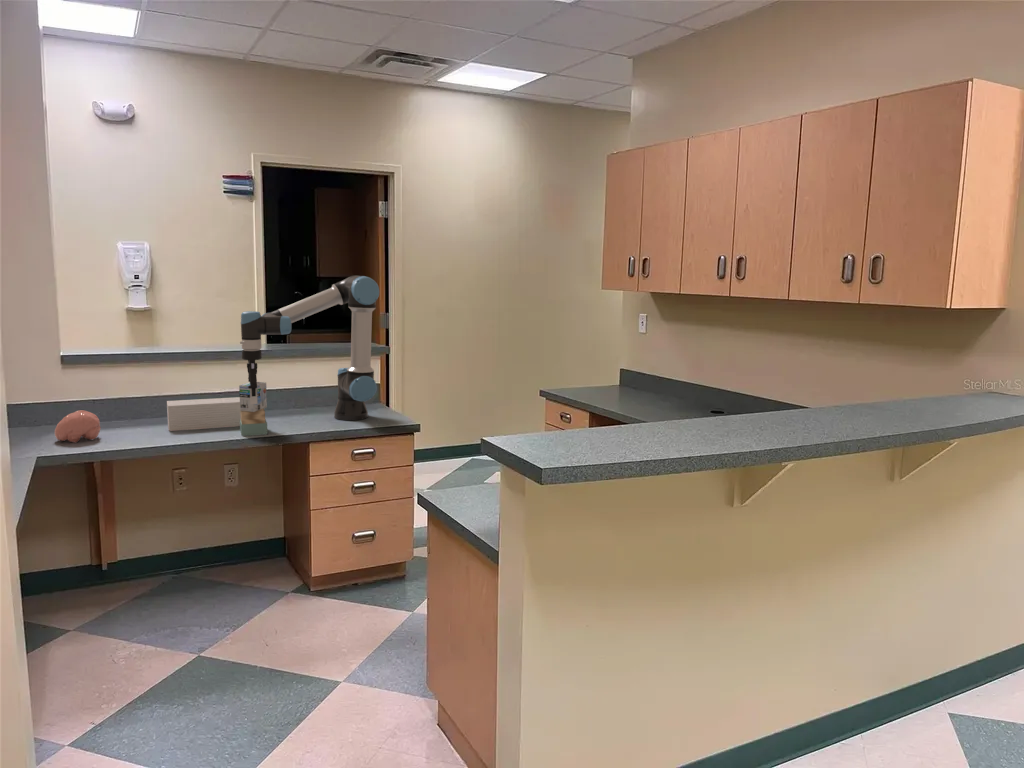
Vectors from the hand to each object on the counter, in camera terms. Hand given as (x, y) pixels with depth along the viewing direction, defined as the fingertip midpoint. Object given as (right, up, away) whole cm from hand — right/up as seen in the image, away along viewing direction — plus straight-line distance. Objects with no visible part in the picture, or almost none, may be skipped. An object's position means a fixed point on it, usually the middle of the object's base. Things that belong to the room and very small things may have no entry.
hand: (253, 400), depth 303 cm
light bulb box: (0, -4, +1) cm, 4 cm away
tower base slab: (-1, -13, +2) cm, 14 cm away
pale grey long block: (-23, -11, +11) cm, 28 cm away
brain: (-61, -15, -18) cm, 65 cm away
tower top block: (0, -9, +1) cm, 9 cm away
